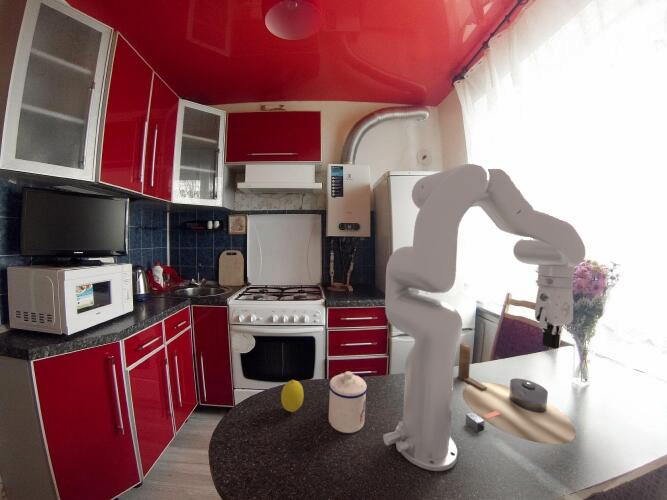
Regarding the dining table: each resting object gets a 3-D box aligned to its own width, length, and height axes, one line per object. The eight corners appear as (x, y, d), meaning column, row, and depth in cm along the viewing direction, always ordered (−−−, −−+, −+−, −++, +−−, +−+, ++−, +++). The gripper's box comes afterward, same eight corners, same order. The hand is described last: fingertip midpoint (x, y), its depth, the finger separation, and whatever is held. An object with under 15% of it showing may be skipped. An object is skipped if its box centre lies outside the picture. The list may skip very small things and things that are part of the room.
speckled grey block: (476, 433, 58) (477, 422, 58) (465, 424, 61) (466, 414, 61) (483, 430, 59) (484, 420, 59) (472, 421, 62) (472, 412, 62)
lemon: (276, 411, 62) (277, 379, 62) (293, 401, 66) (294, 372, 66) (289, 423, 59) (291, 389, 58) (307, 412, 63) (308, 380, 62)
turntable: (539, 467, 49) (543, 409, 49) (429, 386, 76) (431, 348, 75) (602, 433, 59) (605, 385, 59) (485, 372, 86) (487, 339, 85)
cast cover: (535, 415, 63) (536, 394, 63) (502, 397, 70) (503, 377, 70) (553, 408, 66) (554, 388, 66) (520, 391, 73) (521, 373, 73)
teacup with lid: (369, 434, 56) (371, 383, 56) (328, 435, 55) (331, 383, 55) (359, 400, 68) (361, 358, 68) (325, 400, 67) (327, 358, 67)
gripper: (555, 286, 64) (551, 356, 65) (586, 283, 70) (581, 348, 71) (523, 281, 71) (520, 345, 72) (553, 279, 77) (550, 338, 78)
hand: (550, 346), depth 71 cm, fingers closed
